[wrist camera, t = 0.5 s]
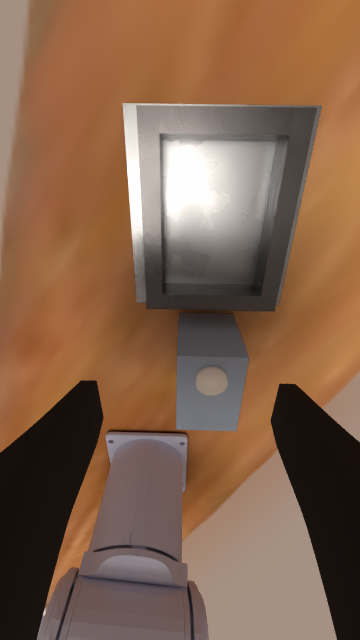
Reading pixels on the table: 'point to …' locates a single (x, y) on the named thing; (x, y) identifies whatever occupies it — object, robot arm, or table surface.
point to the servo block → (209, 372)
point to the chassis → (215, 201)
